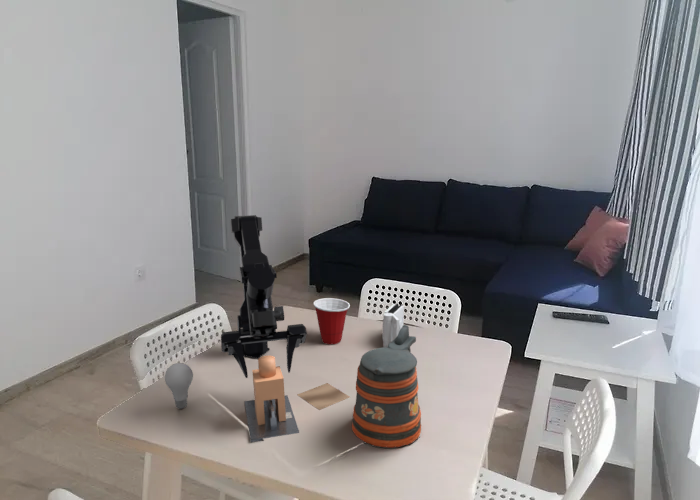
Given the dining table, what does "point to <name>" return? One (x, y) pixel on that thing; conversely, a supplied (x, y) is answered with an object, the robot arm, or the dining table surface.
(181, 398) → the lightbulb
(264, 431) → the grey finned plate
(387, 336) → the white box
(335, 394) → the thin square tan tile
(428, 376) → the dining table surface
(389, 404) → the beer stein
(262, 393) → the arched stamp block
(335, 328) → the plastic cup
